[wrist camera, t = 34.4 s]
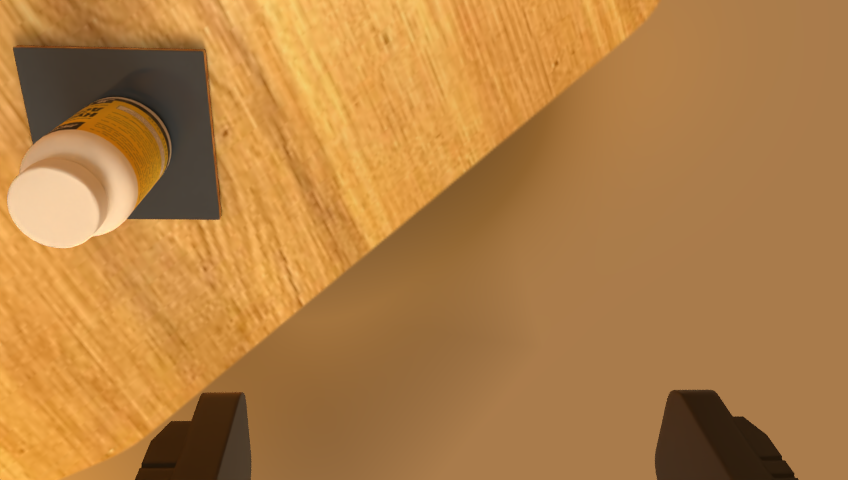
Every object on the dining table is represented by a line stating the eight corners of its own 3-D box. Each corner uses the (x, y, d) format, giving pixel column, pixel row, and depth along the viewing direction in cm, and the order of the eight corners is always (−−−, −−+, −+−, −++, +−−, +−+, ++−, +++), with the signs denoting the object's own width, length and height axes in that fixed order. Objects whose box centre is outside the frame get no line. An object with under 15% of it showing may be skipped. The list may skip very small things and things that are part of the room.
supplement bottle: (116, 73, 39) (41, 126, 31) (193, 144, 41) (143, 213, 32) (54, 137, 41) (-36, 206, 32) (131, 203, 43) (66, 285, 34)
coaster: (205, 48, 40) (203, 51, 39) (221, 216, 44) (219, 220, 43) (17, 44, 39) (12, 47, 38) (52, 214, 43) (48, 218, 43)
